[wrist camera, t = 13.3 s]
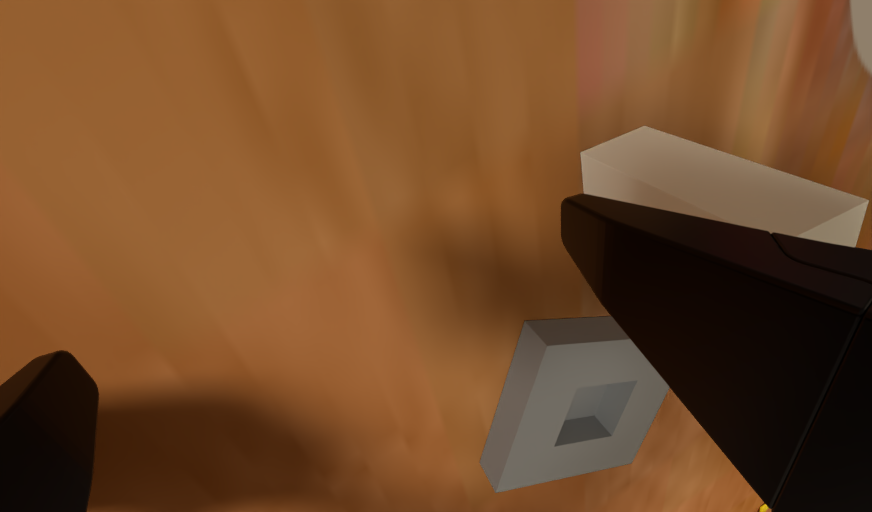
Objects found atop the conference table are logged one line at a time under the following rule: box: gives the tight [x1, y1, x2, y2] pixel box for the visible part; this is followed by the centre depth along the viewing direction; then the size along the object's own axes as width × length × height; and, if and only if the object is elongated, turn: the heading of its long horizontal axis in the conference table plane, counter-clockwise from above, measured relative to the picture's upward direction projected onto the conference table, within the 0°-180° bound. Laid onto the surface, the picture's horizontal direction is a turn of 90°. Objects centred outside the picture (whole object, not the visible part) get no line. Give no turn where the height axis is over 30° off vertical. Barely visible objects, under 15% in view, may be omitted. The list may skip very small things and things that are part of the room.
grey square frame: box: [480, 316, 670, 493], centre depth 33 cm, size 12×12×2 cm
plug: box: [580, 126, 869, 247], centre depth 22 cm, size 4×4×11 cm
